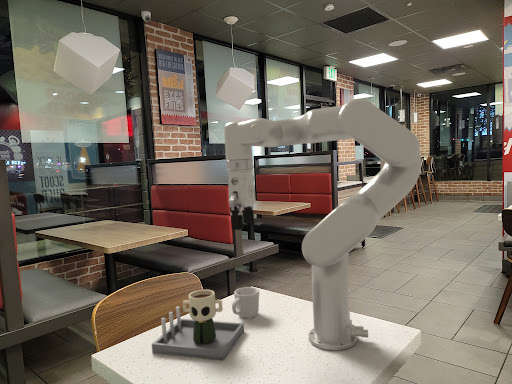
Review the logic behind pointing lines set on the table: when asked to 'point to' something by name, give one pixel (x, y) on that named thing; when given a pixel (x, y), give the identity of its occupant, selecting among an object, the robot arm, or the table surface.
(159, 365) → the table surface
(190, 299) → the character mug
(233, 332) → the dish rack
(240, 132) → the robot arm
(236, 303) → the cup
